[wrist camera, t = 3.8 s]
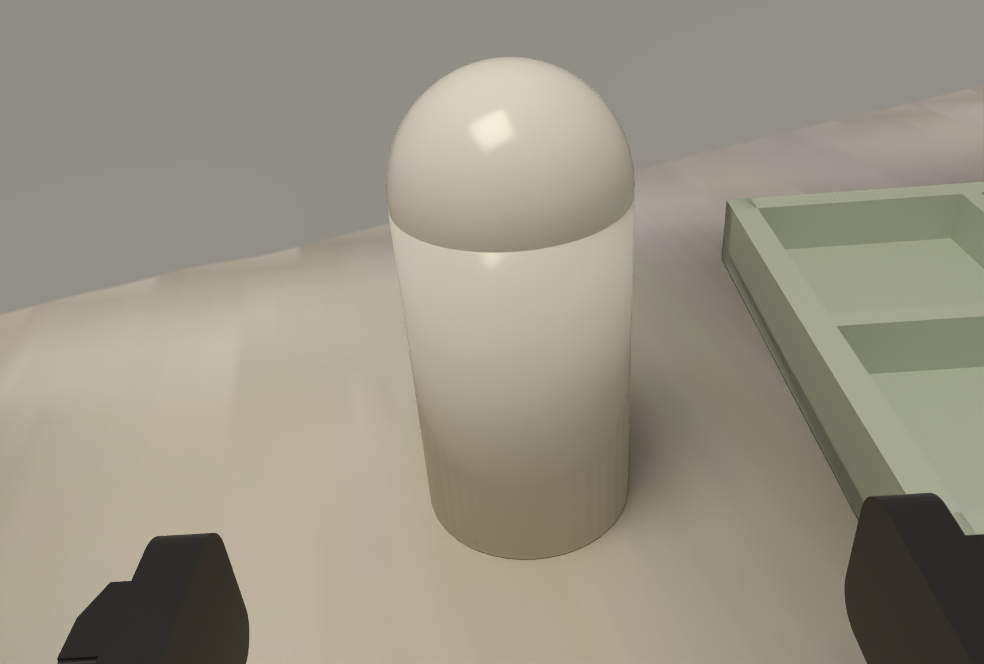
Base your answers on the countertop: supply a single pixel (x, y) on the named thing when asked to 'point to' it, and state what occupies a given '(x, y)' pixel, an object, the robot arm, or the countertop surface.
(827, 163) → the countertop surface
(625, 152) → the white dome-topped cylinder
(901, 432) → the green rectangular open tray
